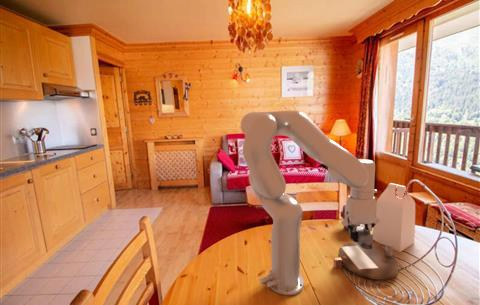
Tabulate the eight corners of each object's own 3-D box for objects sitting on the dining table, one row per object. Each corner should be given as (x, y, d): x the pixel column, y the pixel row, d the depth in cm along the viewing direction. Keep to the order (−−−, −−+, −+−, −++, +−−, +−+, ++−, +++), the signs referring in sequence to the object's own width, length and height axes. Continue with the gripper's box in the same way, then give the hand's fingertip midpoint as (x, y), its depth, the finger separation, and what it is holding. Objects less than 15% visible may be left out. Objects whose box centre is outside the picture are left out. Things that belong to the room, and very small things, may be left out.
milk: (371, 239, 110) (375, 183, 106) (386, 231, 116) (390, 179, 111) (400, 251, 100) (405, 191, 95) (414, 243, 106) (420, 185, 101)
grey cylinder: (363, 249, 85) (364, 238, 84) (346, 232, 97) (347, 222, 96) (374, 248, 85) (375, 237, 85) (356, 231, 97) (357, 221, 96)
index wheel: (337, 271, 88) (338, 254, 87) (339, 242, 106) (340, 228, 105) (402, 285, 80) (404, 267, 79) (393, 252, 98) (394, 237, 97)
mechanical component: (359, 225, 123) (365, 235, 113) (338, 224, 125) (342, 234, 115) (360, 202, 121) (366, 210, 111) (339, 201, 123) (343, 209, 113)
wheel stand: (350, 279, 85) (351, 270, 85) (332, 266, 92) (333, 258, 92) (379, 265, 92) (379, 257, 91) (360, 254, 99) (360, 246, 98)
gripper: (377, 188, 92) (375, 233, 95) (334, 191, 91) (333, 236, 95) (391, 195, 85) (387, 243, 88) (344, 198, 84) (342, 247, 87)
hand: (359, 239), depth 91 cm, fingers closed on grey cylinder, 4 cm apart
